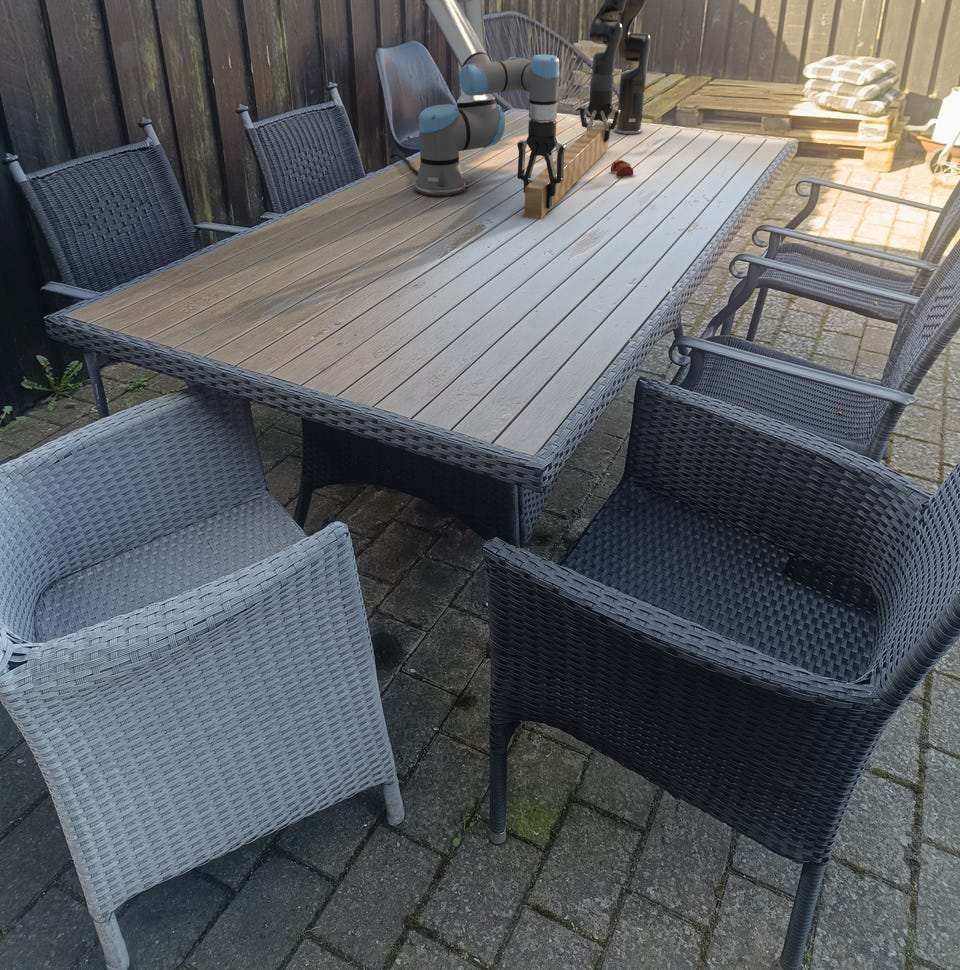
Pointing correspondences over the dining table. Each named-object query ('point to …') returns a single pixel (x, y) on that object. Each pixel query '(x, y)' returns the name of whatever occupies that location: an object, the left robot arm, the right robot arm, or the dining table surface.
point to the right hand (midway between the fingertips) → (597, 140)
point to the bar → (566, 171)
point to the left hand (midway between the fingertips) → (539, 205)
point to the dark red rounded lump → (622, 168)
